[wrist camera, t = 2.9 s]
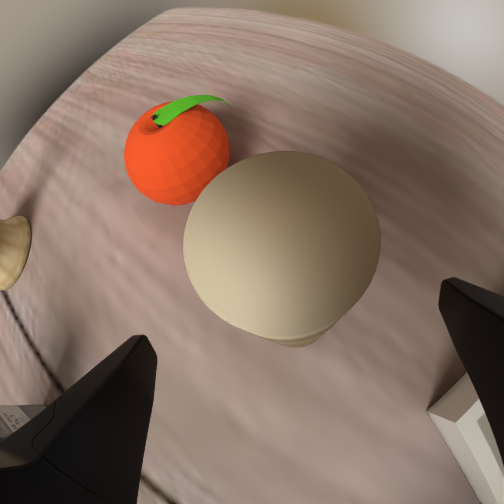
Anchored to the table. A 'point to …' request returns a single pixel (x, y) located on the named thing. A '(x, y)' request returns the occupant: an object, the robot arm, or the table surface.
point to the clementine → (176, 150)
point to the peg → (282, 245)
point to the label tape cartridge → (16, 417)
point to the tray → (470, 439)
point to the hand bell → (13, 249)
